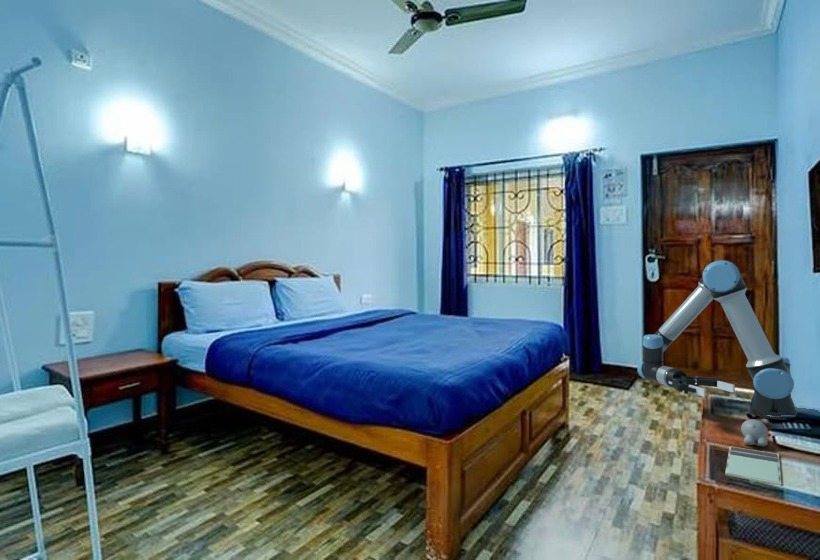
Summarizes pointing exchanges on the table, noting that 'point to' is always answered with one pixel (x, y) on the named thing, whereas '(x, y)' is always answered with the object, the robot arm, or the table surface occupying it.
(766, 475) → the pad
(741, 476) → the board
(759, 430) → the chubby cartoon animal
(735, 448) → the dark gray parallel strips
